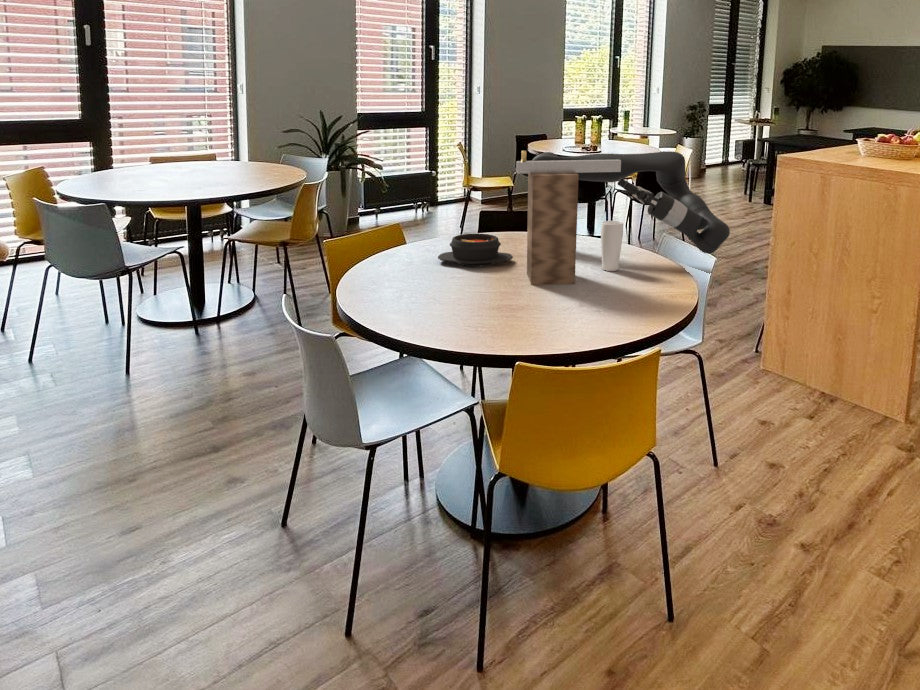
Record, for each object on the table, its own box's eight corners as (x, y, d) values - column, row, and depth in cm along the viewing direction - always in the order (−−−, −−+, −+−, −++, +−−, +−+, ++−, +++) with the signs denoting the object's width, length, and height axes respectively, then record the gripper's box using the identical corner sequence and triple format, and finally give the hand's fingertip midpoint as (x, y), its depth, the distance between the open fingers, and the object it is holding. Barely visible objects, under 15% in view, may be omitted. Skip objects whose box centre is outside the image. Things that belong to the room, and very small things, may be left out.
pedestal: (531, 284, 236) (532, 175, 225) (526, 274, 248) (528, 169, 238) (574, 283, 236) (578, 174, 226) (568, 273, 248) (571, 169, 238)
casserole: (515, 257, 271) (515, 232, 268) (510, 270, 254) (510, 244, 251) (442, 255, 275) (442, 231, 272) (433, 268, 257) (432, 242, 254)
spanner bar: (517, 173, 230) (517, 151, 228) (516, 172, 233) (516, 150, 231) (620, 171, 230) (621, 150, 228) (618, 170, 233) (619, 148, 231)
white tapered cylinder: (597, 267, 255) (599, 220, 250) (617, 266, 256) (620, 220, 251) (602, 272, 249) (604, 224, 244) (623, 271, 249) (626, 224, 244)
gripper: (668, 195, 242) (623, 168, 239) (681, 202, 228) (634, 174, 225) (654, 216, 244) (610, 190, 241) (666, 225, 230) (620, 197, 227)
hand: (622, 182), depth 233 cm, fingers open, 8 cm apart
